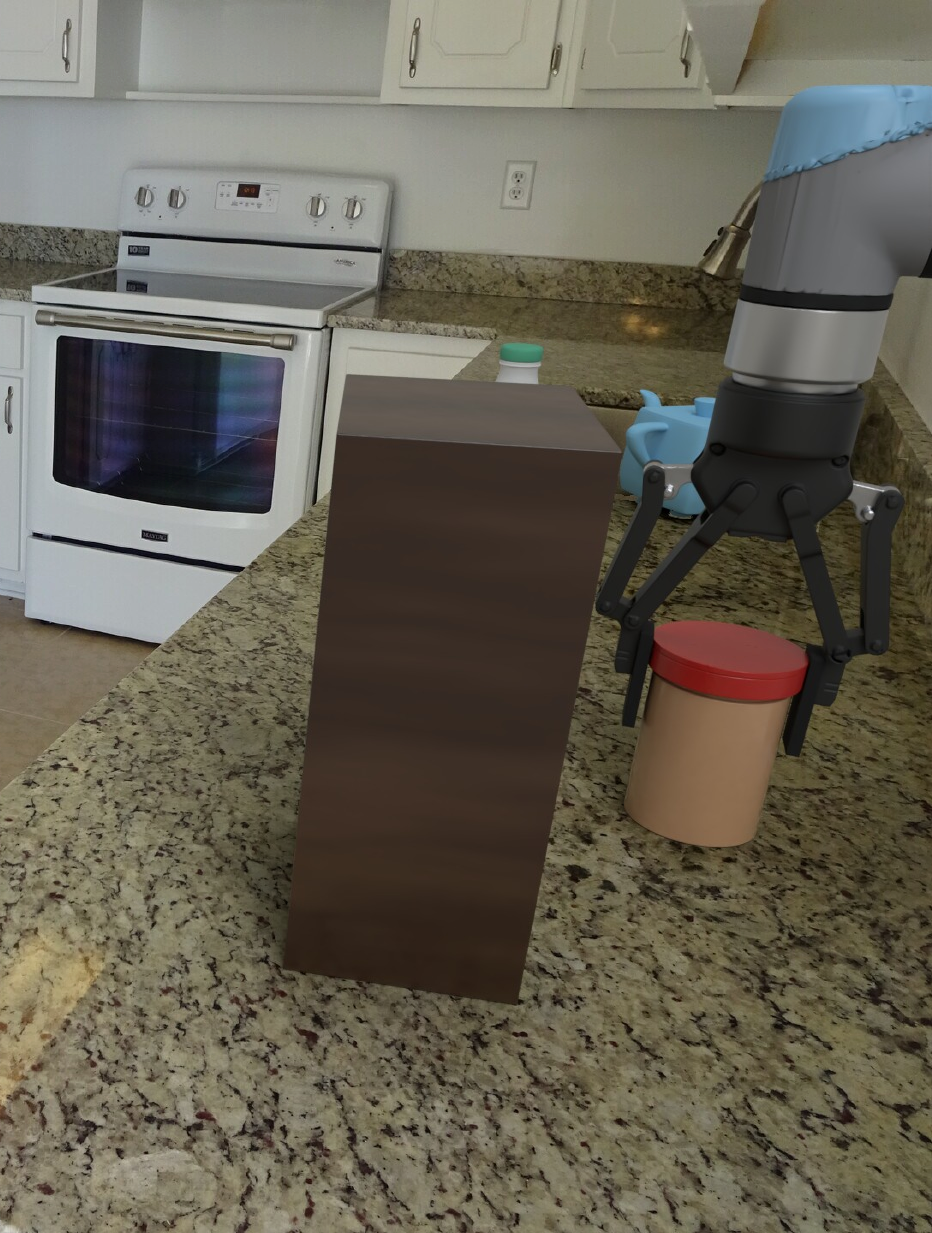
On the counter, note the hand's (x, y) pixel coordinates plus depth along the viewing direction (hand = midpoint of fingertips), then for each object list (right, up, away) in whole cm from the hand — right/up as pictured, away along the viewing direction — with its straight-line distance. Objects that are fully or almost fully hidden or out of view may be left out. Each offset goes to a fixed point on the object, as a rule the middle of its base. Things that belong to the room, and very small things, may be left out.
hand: (707, 732), depth 80 cm
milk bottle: (+11, +22, +69) cm, 73 cm away
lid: (0, +5, -2) cm, 6 cm away
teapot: (+35, +24, +74) cm, 85 cm away
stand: (-22, -10, -8) cm, 25 cm away
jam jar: (0, -6, +2) cm, 6 cm away
